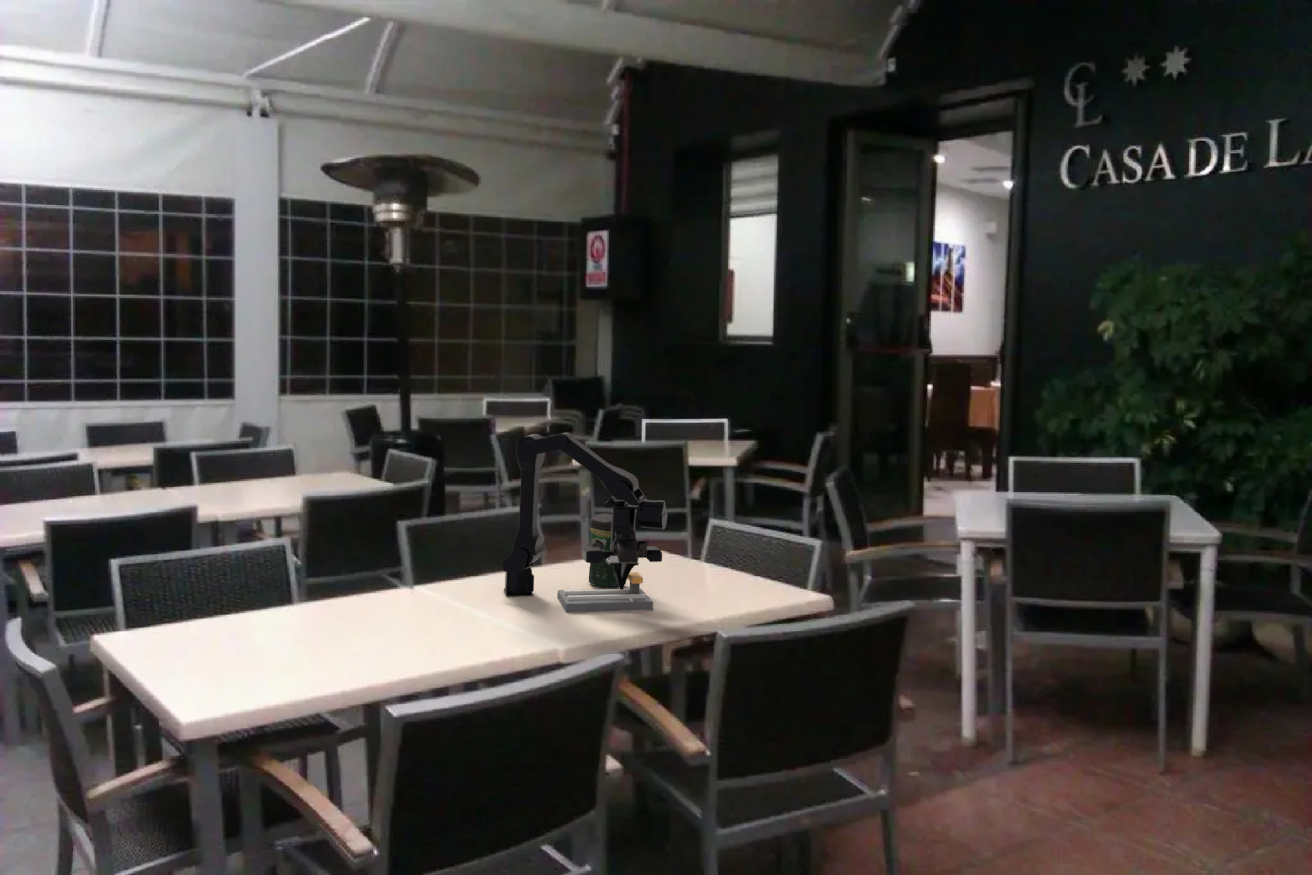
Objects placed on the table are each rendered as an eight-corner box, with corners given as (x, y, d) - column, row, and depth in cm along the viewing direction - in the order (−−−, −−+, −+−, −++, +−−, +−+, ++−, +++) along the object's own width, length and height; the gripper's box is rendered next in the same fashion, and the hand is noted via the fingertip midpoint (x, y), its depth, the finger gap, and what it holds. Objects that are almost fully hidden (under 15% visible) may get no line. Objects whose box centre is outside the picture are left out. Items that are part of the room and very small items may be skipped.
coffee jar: (631, 586, 291) (633, 515, 289) (608, 590, 285) (611, 518, 283) (605, 579, 298) (607, 510, 296) (583, 583, 292) (585, 513, 290)
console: (566, 612, 263) (566, 600, 263) (557, 598, 276) (557, 587, 276) (652, 609, 269) (653, 598, 268) (640, 596, 281) (640, 585, 281)
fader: (631, 597, 271) (632, 577, 270) (626, 592, 276) (627, 572, 276) (642, 597, 271) (642, 577, 271) (636, 591, 277) (637, 572, 276)
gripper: (591, 532, 261) (589, 598, 263) (669, 532, 266) (666, 596, 267) (582, 523, 272) (581, 587, 273) (657, 523, 276) (655, 585, 278)
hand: (621, 589), depth 273 cm, fingers closed
